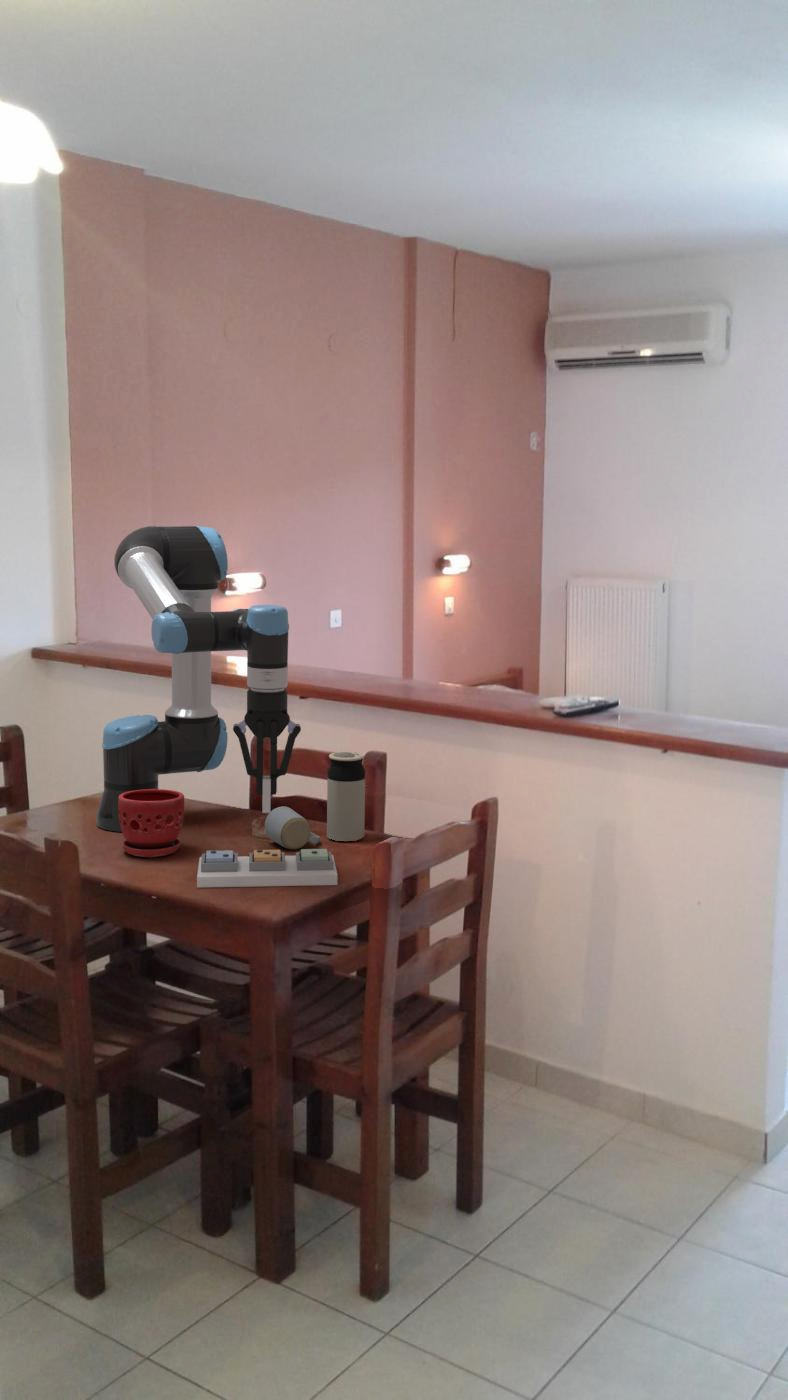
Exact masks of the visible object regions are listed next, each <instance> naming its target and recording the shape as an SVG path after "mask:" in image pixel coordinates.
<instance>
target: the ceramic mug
mask: <svg viewBox="0 0 788 1400" xmlns="http://www.w3.org/2000/svg"><path fill="white" fill-rule="evenodd" d="M264 831H265V835H266V836H267V837H268V838H269V840H271V841H272V842H274V843H276V844H278V845H279V846H281V847H283V848H285V849H287V850H292V851H293V850H294V851H295V850H299V849H301V848H303V847H304V846H305V845H306V844H307V843H310V844H313V845H318V844H319V842H320V839H321V838H320V837H321V836H319V835H317V834H315V833H314V832H312V830H311V827H310V823H309V822H308V821H307V819H305V818H304V817H303V816H302V815H301V814H299V813H298V812H296V811H295V810H293V809H292V808H290V807H288V806H278V807H276V808H273V809H272V810H270V813H268V815H267V816H266V818H265V821H264Z"/></svg>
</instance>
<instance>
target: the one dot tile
mask: <svg viewBox="0 0 788 1400" xmlns="http://www.w3.org/2000/svg"><path fill="white" fill-rule="evenodd" d="M300 852H301V861H328V853H327V852H328V849H327V848H307V849H306V848H305V849H303V848H302V849H301V848H300Z"/></svg>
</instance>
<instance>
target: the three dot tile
mask: <svg viewBox="0 0 788 1400" xmlns="http://www.w3.org/2000/svg"><path fill="white" fill-rule="evenodd" d="M280 852H281V849H253V853H254V862H281V855H280Z"/></svg>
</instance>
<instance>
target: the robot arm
mask: <svg viewBox="0 0 788 1400" xmlns="http://www.w3.org/2000/svg"><path fill="white" fill-rule="evenodd" d="M115 551H116V552H115V554H114V569H115V572H116V574H117V576H118V577H119V579H120V580H121V582H122V583H123V585H125V586H126V587H127V588H130V589H132V591H133V592H134V593H135V594H136V596H137V598H138V599H139V601H140V603H141V604H142V606H143V607H144V608H145V610H146V611H147V613H148V615H149V616H150V618H151V619H152V622H151V628H150V632H151V633H150V634H151V640H152V642H153V648H154V649H155V650H156V651H157V652H159V653H161V654H171V705H170V706H169V707H168V708H167V709H166V710H165V712H164V721H159V720H158V718H157V717H156V716H154V715H152V714H151V715H150V714H143V715H139V714H137V715H129V716H124V717H121V718H116V719H114V720H112V721H110V722H108V723H107V724H106V725H105V727H104V729H103V733H102V735H103V736H102V745H101V748H102V753H103V754H102V755H103V759H102V760H103V761H102V762H103V792H102V795H101V798H100V802H99V805H98V808H97V812H96V816H95V817H96V826H97V827H98V828H100V829H103V830H106V831H110V832H111V831H112V832H121V833H122V830H121V826H120V822H119V812H118V799H119V795H120V794H122V793H125V792H129V791H135V790H145V789H159V775H167V774H168V775H169V774H180V773H181V774H182V773H192V772H193V773H194V772H197V773H200V772H203V771H211V770H215V769H217V768H219V766H220V765H221V764H222V763H223V761H224V759H225V757H226V754H227V753H226V752H227V748H228V732H227V730H228V728H227V724H226V722H225V720H224V719H223V718H221V717H219V711H218V710H217V709H216V708H215V707H214V706H213V705H212V652H227V651H231V652H233V651H247V653H246V654H247V656H246V657H247V660H246V661H247V663H246V664H247V666H246V667H247V668H246V669H247V670H246V673H247V674H246V676H247V677H246V680H247V681H246V683H247V684H246V686H247V687H248V690H247V691H246V713H245V714H244V719H243V720H242V721H240V722H238V723H234V724H233V727H232V731H233V732H234V734H235V735H236V736H237V738H238V742H239V745H240V749H241V754H242V757H243V762H244V765H245V766H244V767H245V769H246V770H245V771H246V774H247V776H252V777H254V778H255V779H256V780H255V781H256V795H261V796H262V801H261V802H262V804H261V805H262V806H261V807H262V814H269V813H270V812H271V796H273V795H274V796H275V795H277V792H278V791H277V790H278V789H277V788H278V787H277V785H278V782H277V781H278V778H280V777H281V776H285V775H286V774H287V772H288V768H289V764H290V762H291V758H292V757H291V756H292V752H293V749H294V745H295V742H296V738H297V737H298V735H299V734H300V732H301V730H302V727H301V725H300V724H299V723H295V722H294V721H292V720H291V717H290V715H289V712H288V691H287V689H286V688H287V687H288V685H289V683H288V681H289V680H288V679H289V678H288V676H289V674H288V673H289V672H288V671H289V670H288V669H289V668H288V667H289V666H288V664H289V662H288V661H289V659H288V657H289V630H290V624H289V614H288V613H289V612H288V609H287V608H286V607H285V606H282V605H276V604H255V605H251V606H250V607H249V608H236V609H235V608H234V609H233V610H231V611H230V610H229V611H228V610H227V611H212V597H213V595H214V594H215V593H217V592H218V589H219V582H221V581H223V580H224V579H226V577H227V574H228V569H229V567H228V566H229V565H228V562H229V561H228V553H227V548H226V545H225V542H224V540H223V537H222V535H221V534H220V533H219V531H217V530H216V529H215V528H213V527H209V526H208V527H207V526H199V525H189V526H188V525H186V526H183V525H182V526H156V525H155V526H152V525H151V526H150V525H149V526H144V527H141V528H137V529H135V530H133V531H132V532H130V533H129V534H128V535H126V536H125V537H124V538H123V539H122V540H121V542H120V543H119V544H118V546H117V549H116V550H115ZM246 727H248V729H249V730H250V732H251V733H252V735H254V737H256V768H255V767H254V765H253V760H252V758H251V755H250V754H251V753H250V748H249V746H248V745H249V744H248V741H247V737H246V732H247V728H246ZM286 727H287V733H288V735H287V739H286V743H285V747H284V750H283V755H282V759H281V763H280V766H279V768H278V737H279V736H280V735H281V734H282V733H283V731H284V730H285V729H286ZM265 738H269V739H270V740H269V741H270V744H269V745H270V751H269V752H270V753H269V756H270V758H269V759H270V762H269V764H270V765H269V767H270V769H269V774H270V775H264V739H265ZM157 815H159V814H157ZM140 817H141V818H142V815H141V814H140ZM166 819H168V816H167V817H166Z"/></svg>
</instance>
